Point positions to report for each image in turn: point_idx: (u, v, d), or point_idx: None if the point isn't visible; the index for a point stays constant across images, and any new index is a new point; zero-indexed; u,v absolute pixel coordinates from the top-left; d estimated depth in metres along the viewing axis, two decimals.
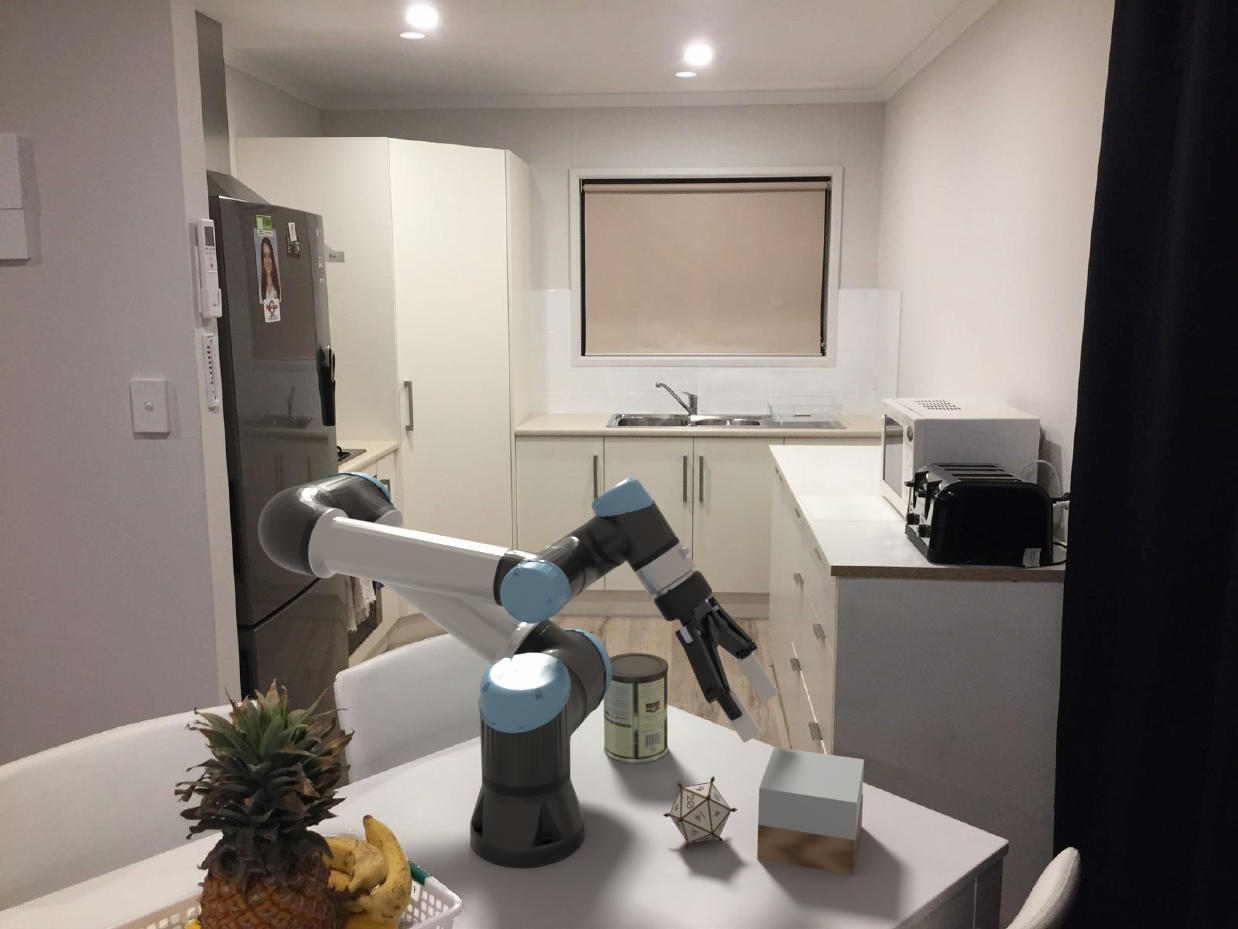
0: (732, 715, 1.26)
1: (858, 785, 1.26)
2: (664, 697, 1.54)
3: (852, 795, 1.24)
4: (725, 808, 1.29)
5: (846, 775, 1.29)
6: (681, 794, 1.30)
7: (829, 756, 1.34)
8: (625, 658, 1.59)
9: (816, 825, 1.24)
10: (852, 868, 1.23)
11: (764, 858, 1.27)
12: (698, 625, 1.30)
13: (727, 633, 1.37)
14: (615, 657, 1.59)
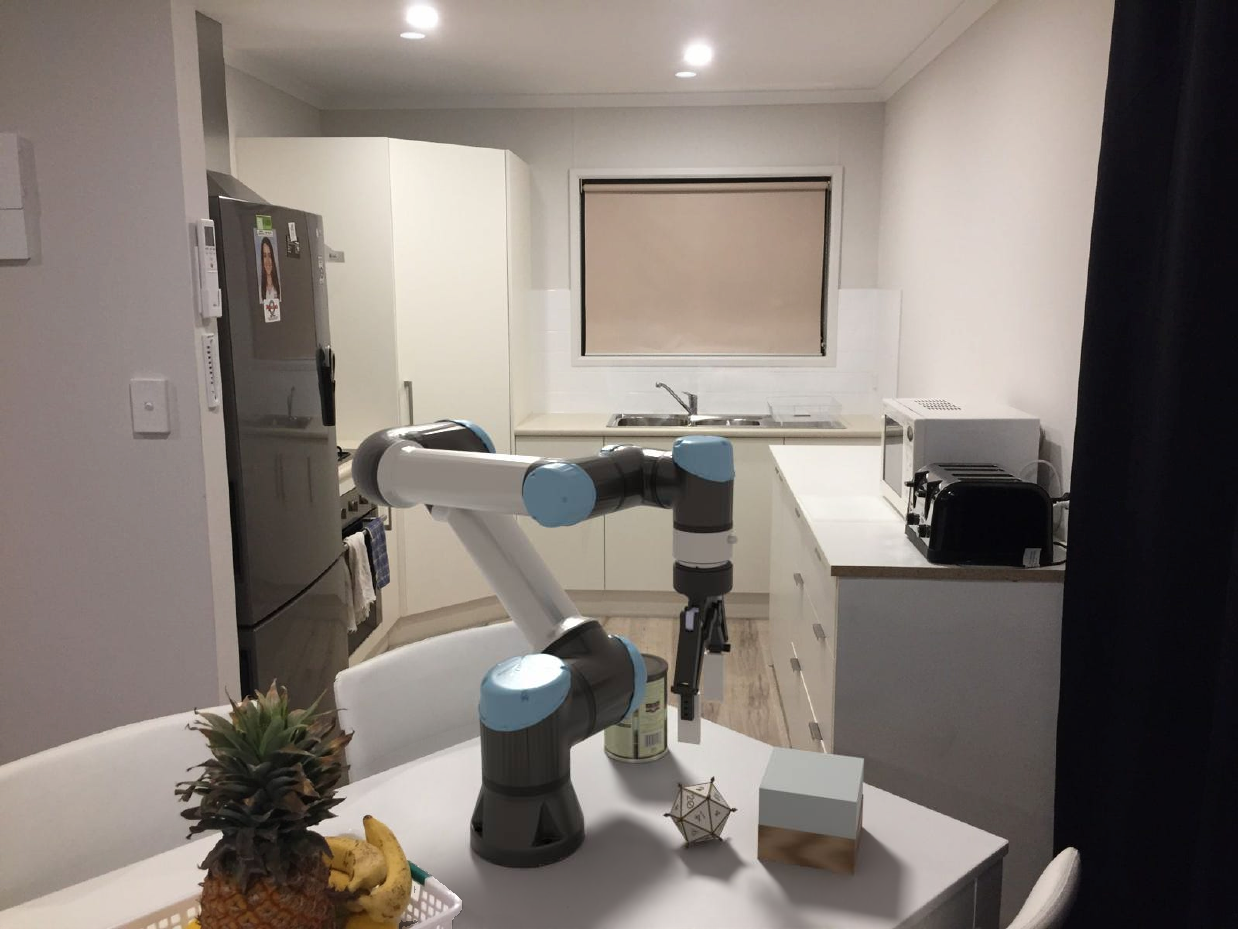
0: (685, 715, 1.20)
1: (858, 784, 1.26)
2: (664, 697, 1.54)
3: (851, 794, 1.24)
4: (725, 808, 1.29)
5: (846, 774, 1.29)
6: (681, 794, 1.30)
7: (829, 755, 1.34)
8: None
9: (816, 824, 1.24)
10: (852, 868, 1.23)
11: (764, 858, 1.27)
12: (703, 615, 1.22)
13: (716, 628, 1.30)
14: None
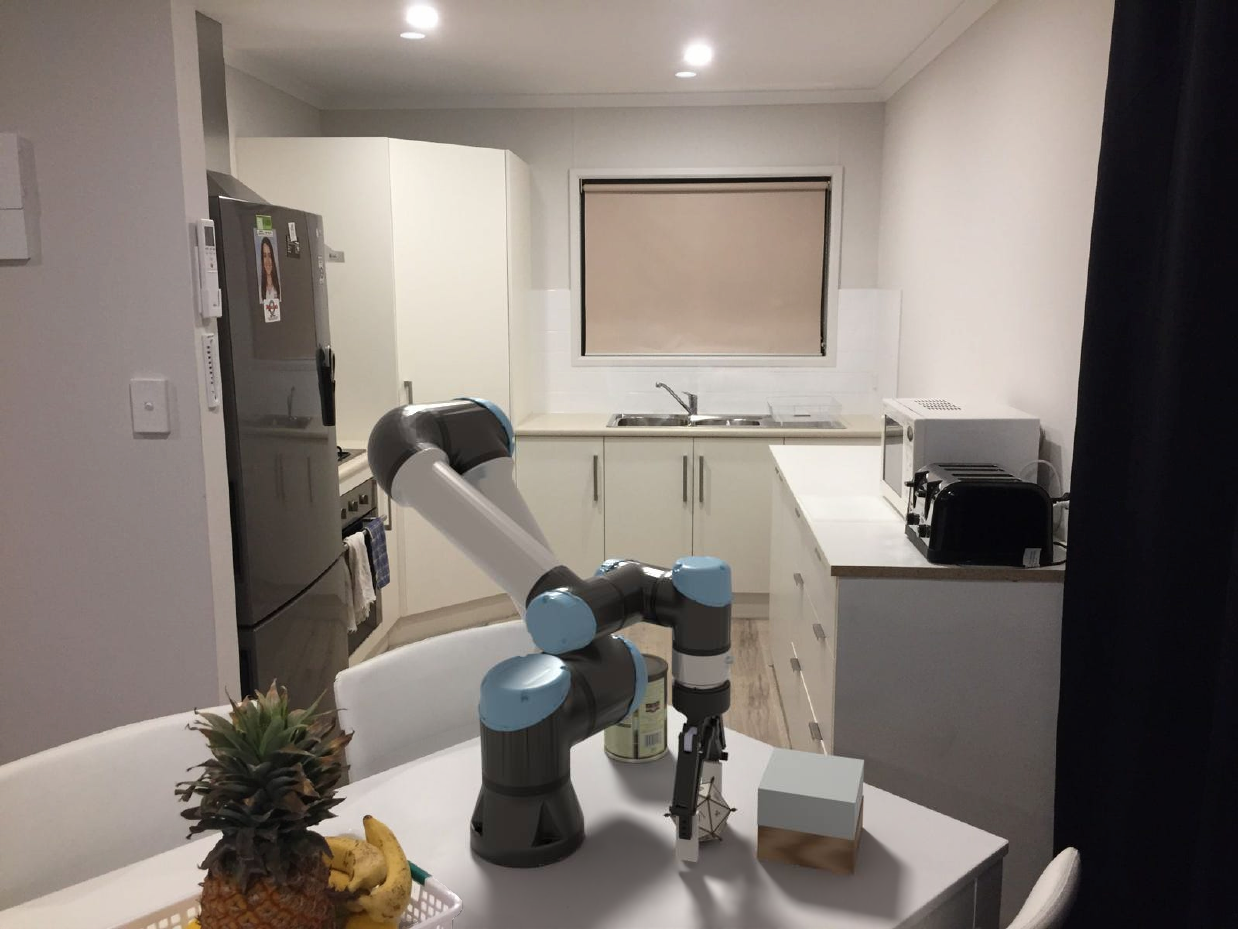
0: (683, 835, 1.23)
1: (857, 785, 1.26)
2: (664, 697, 1.54)
3: (850, 795, 1.24)
4: (725, 808, 1.29)
5: (845, 776, 1.29)
6: None
7: (829, 757, 1.34)
8: None
9: (815, 825, 1.24)
10: (852, 869, 1.23)
11: (764, 859, 1.27)
12: (701, 735, 1.25)
13: (714, 740, 1.32)
14: None
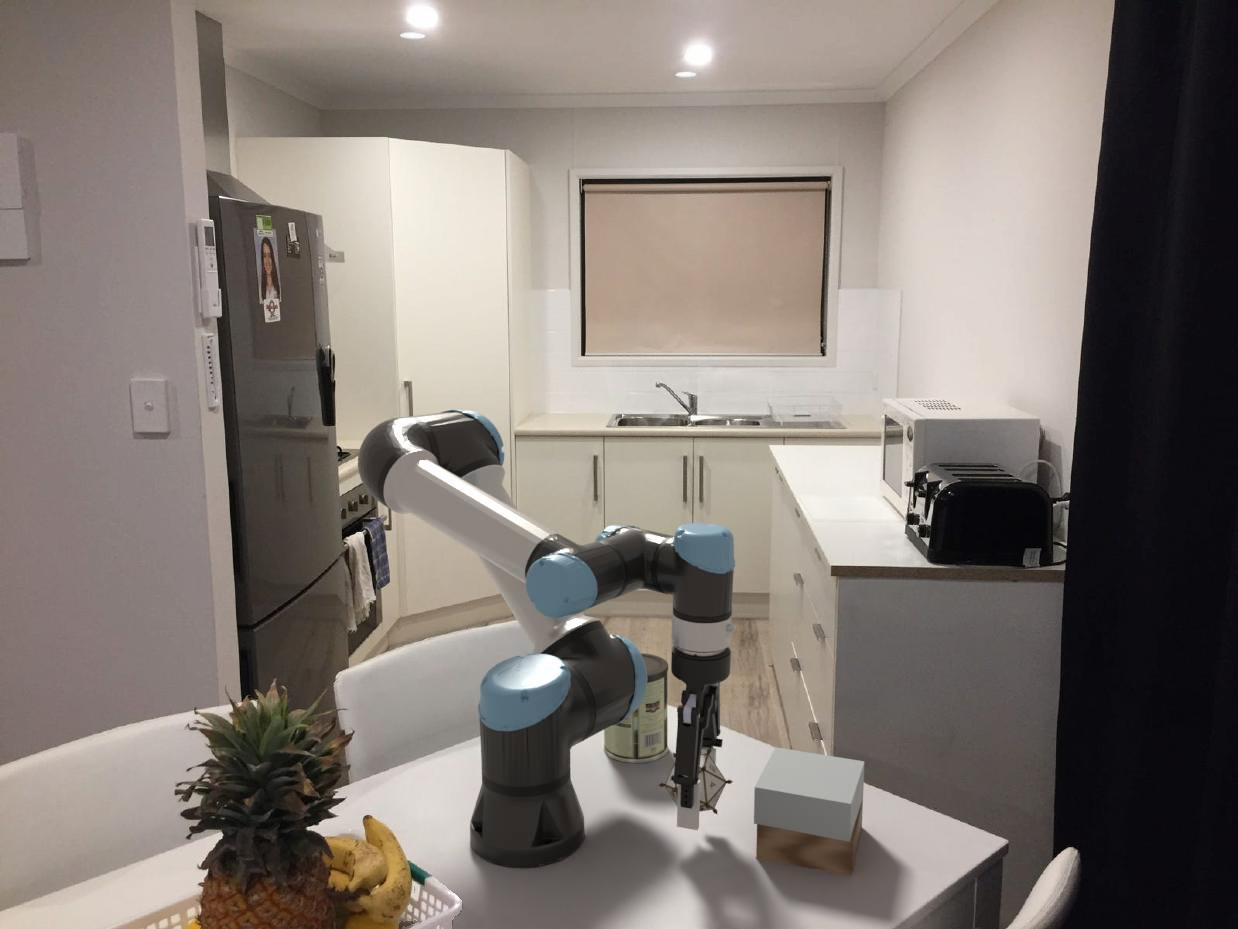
0: (685, 803, 1.25)
1: (855, 787, 1.26)
2: (664, 697, 1.54)
3: (847, 796, 1.24)
4: (720, 780, 1.29)
5: (844, 777, 1.29)
6: None
7: (830, 757, 1.34)
8: None
9: (811, 825, 1.24)
10: (851, 869, 1.23)
11: (763, 859, 1.27)
12: (700, 704, 1.24)
13: (711, 715, 1.31)
14: None
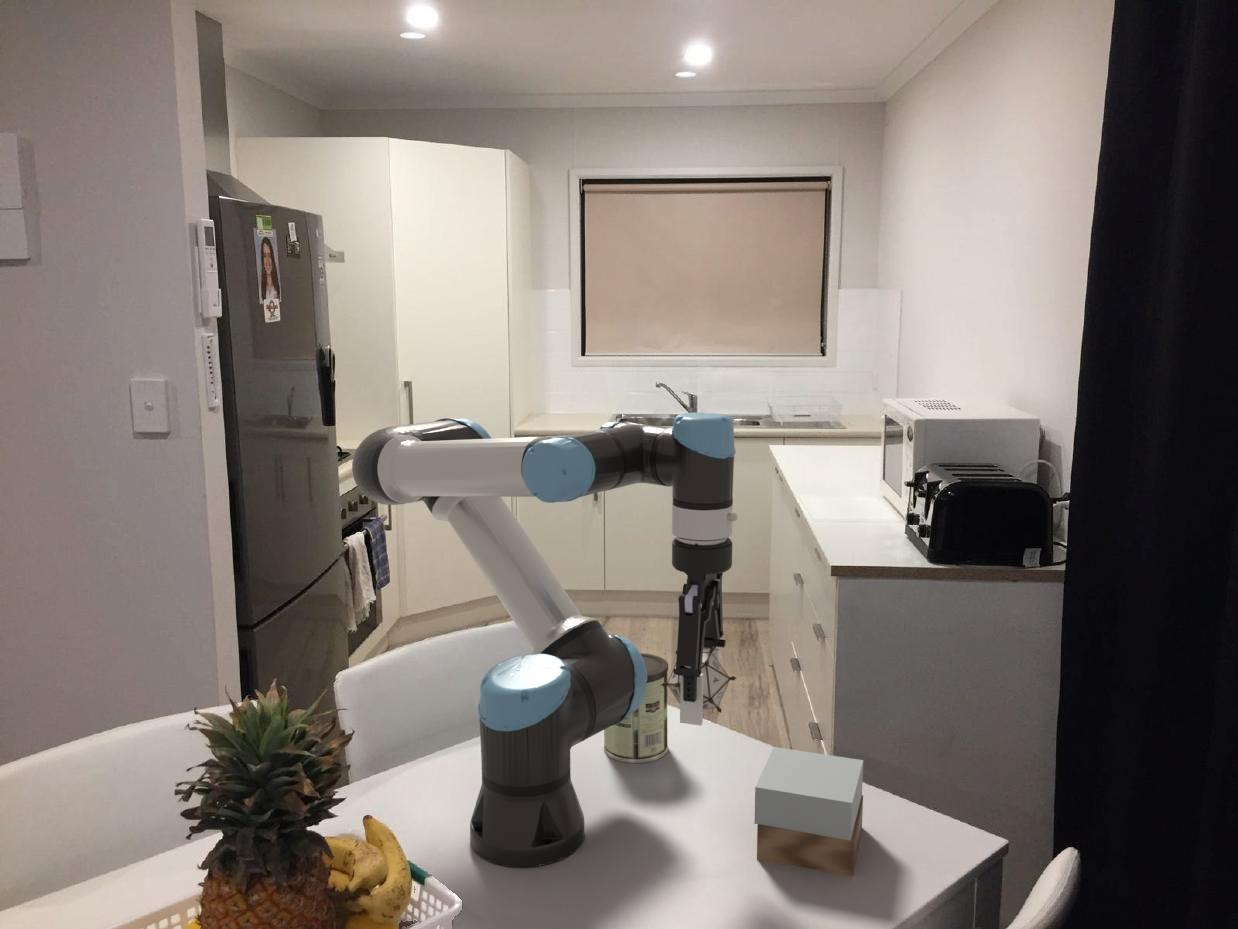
0: (687, 696, 1.22)
1: (855, 786, 1.26)
2: (664, 697, 1.54)
3: (847, 795, 1.24)
4: (724, 676, 1.26)
5: (844, 776, 1.29)
6: None
7: (829, 757, 1.34)
8: None
9: (812, 824, 1.24)
10: (852, 869, 1.23)
11: (764, 859, 1.27)
12: (702, 594, 1.22)
13: (713, 612, 1.28)
14: None
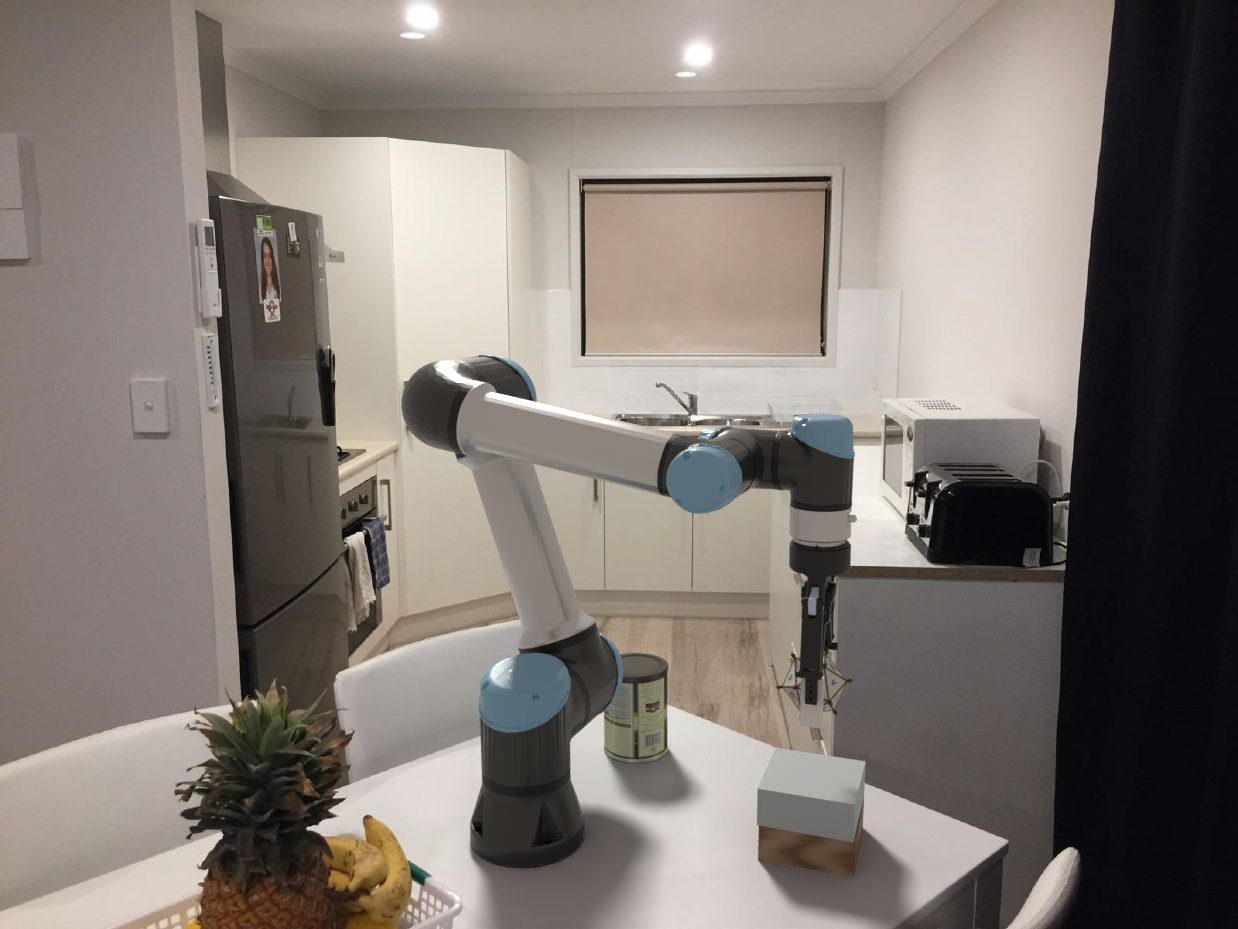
0: (809, 699, 1.22)
1: (857, 787, 1.26)
2: (664, 697, 1.54)
3: (850, 797, 1.23)
4: (841, 678, 1.26)
5: (846, 777, 1.28)
6: (795, 664, 1.26)
7: (831, 758, 1.34)
8: (625, 658, 1.59)
9: (814, 826, 1.24)
10: (853, 869, 1.23)
11: (765, 859, 1.27)
12: (823, 596, 1.21)
13: None
14: None
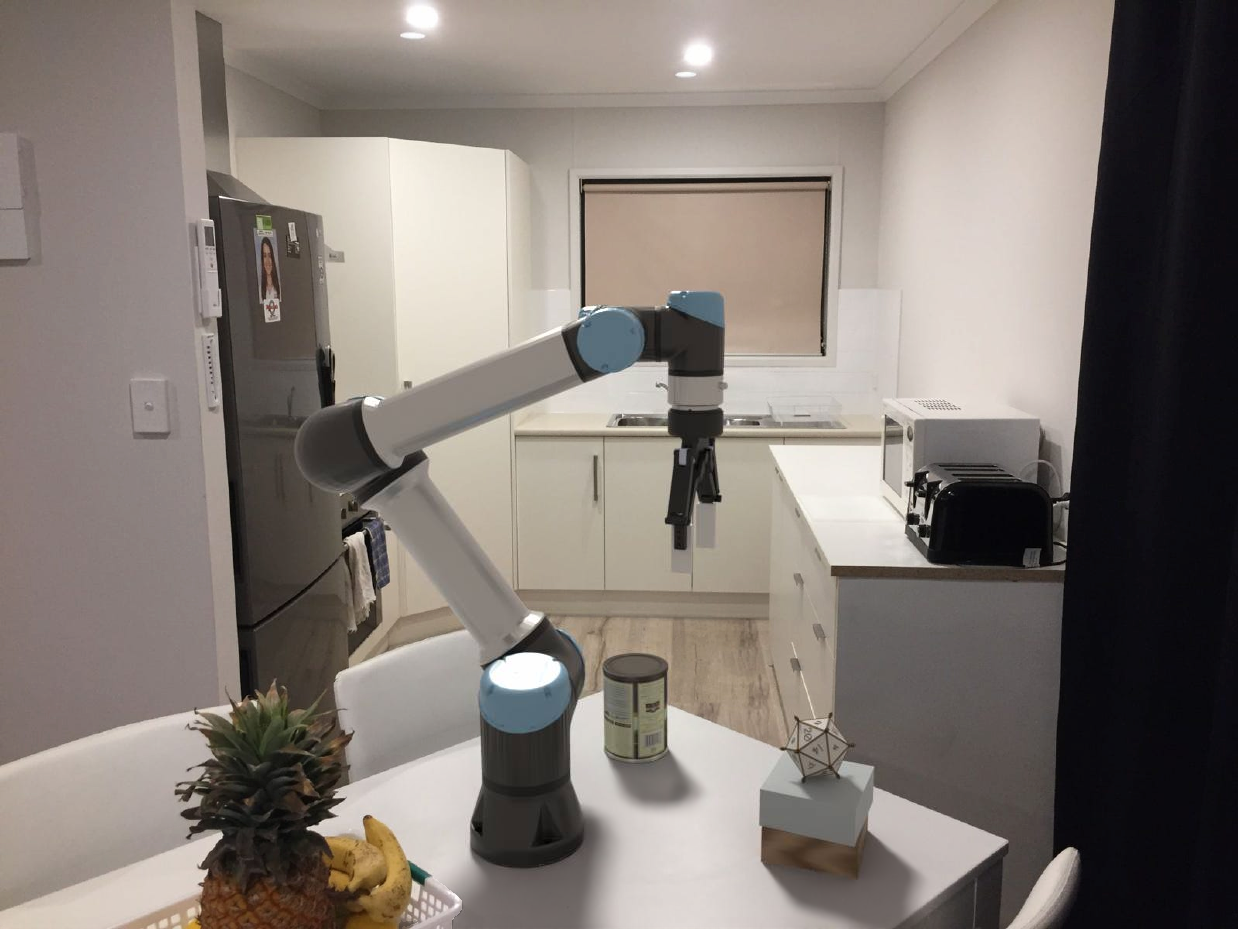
0: (678, 545, 1.30)
1: (861, 792, 1.25)
2: (664, 697, 1.54)
3: (852, 801, 1.23)
4: (843, 743, 1.27)
5: (852, 781, 1.27)
6: (798, 727, 1.28)
7: None
8: (625, 658, 1.59)
9: (816, 829, 1.23)
10: (856, 873, 1.23)
11: None
12: (695, 454, 1.32)
13: (708, 475, 1.39)
14: (615, 657, 1.59)
